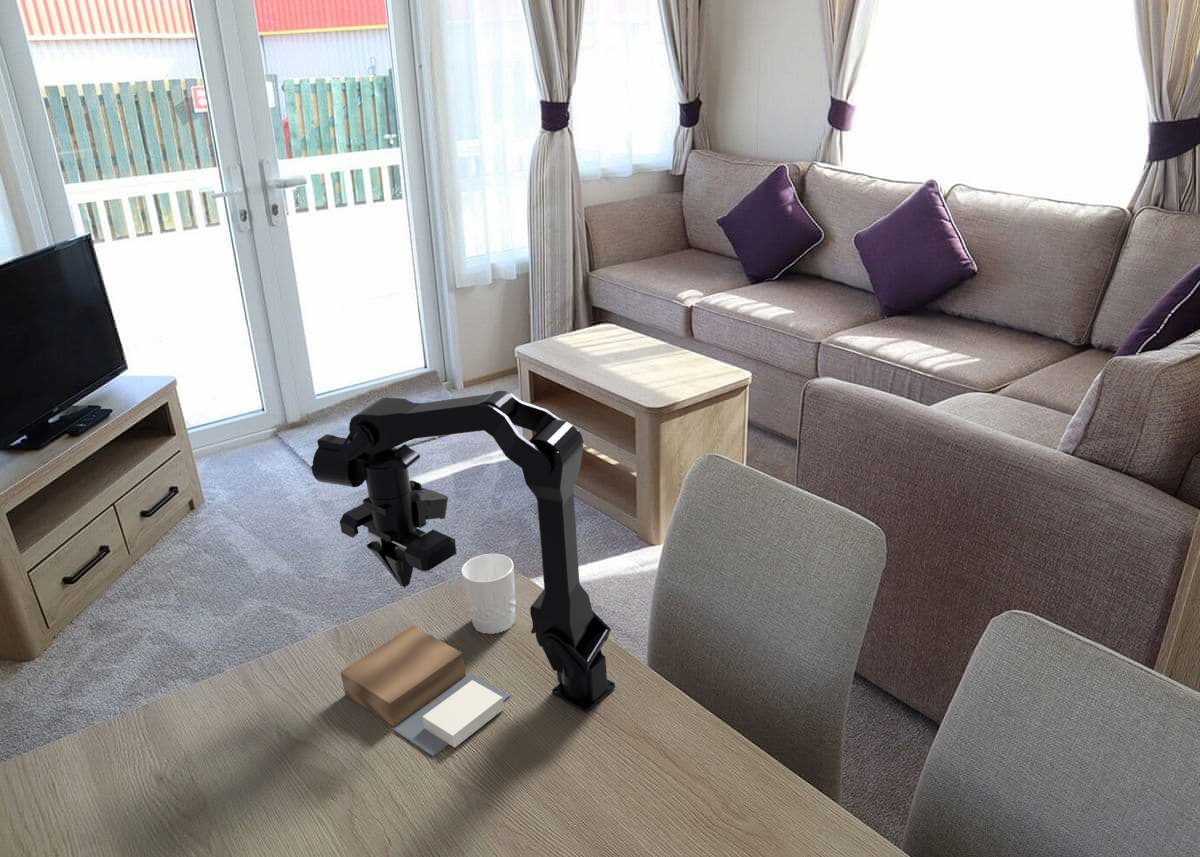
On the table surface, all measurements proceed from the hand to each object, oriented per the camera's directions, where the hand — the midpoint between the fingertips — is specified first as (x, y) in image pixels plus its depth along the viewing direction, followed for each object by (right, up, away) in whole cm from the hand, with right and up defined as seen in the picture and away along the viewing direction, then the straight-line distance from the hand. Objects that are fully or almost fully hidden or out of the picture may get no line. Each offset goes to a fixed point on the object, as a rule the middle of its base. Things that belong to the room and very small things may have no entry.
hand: (405, 585), depth 133 cm
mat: (+8, -16, -7) cm, 20 cm away
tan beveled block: (0, -14, -1) cm, 14 cm away
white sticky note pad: (+10, -15, -10) cm, 20 cm away
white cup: (+12, -8, +11) cm, 18 cm away
